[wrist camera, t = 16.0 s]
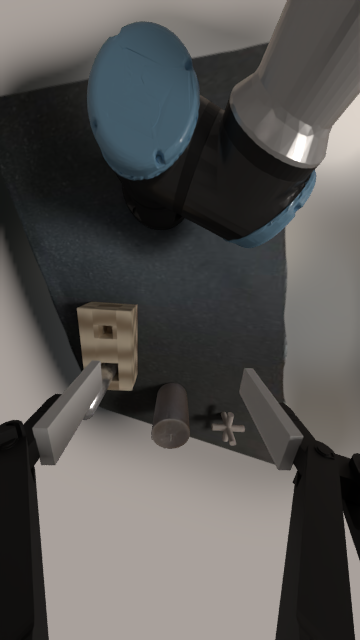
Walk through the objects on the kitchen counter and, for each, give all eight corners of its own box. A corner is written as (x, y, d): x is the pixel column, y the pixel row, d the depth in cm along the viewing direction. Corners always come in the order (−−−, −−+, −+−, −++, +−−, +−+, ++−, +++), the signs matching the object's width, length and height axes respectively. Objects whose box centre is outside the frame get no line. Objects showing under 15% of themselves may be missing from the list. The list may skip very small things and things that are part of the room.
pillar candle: (191, 401, 56) (196, 447, 42) (163, 410, 57) (159, 458, 42) (180, 378, 53) (182, 418, 39) (151, 388, 54) (143, 431, 40)
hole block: (91, 301, 45) (76, 308, 38) (137, 304, 46) (130, 311, 39) (97, 372, 52) (85, 388, 45) (137, 374, 52) (131, 390, 46)
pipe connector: (234, 426, 60) (246, 456, 50) (206, 424, 59) (212, 454, 50) (240, 403, 57) (254, 430, 47) (211, 401, 56) (218, 428, 47)
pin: (107, 353, 48) (70, 402, 31) (121, 354, 48) (92, 403, 31) (108, 366, 49) (72, 419, 32) (122, 366, 50) (94, 420, 32)
